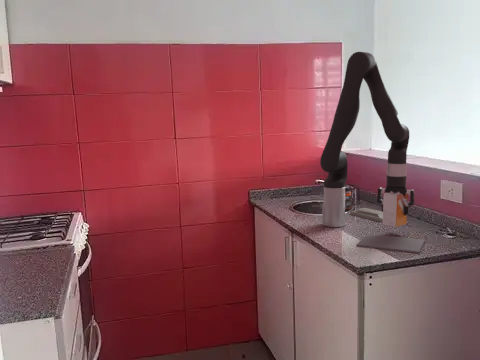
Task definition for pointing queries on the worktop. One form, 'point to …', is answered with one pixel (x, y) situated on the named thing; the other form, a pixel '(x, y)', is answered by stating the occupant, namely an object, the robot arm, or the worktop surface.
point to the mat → (391, 243)
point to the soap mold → (368, 214)
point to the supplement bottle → (347, 198)
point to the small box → (394, 209)
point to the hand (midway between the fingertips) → (395, 214)
